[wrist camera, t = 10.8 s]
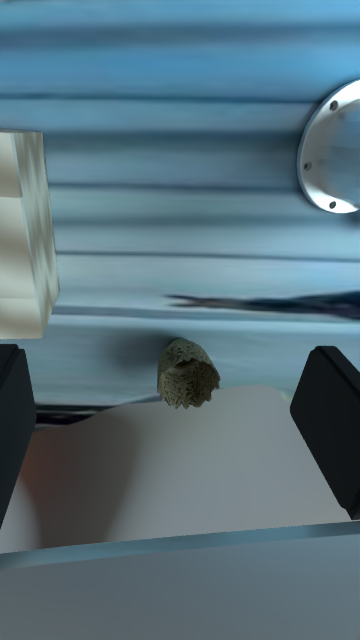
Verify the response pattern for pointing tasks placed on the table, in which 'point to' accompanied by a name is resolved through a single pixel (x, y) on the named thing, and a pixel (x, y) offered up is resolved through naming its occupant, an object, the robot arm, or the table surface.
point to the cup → (186, 374)
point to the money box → (25, 237)
